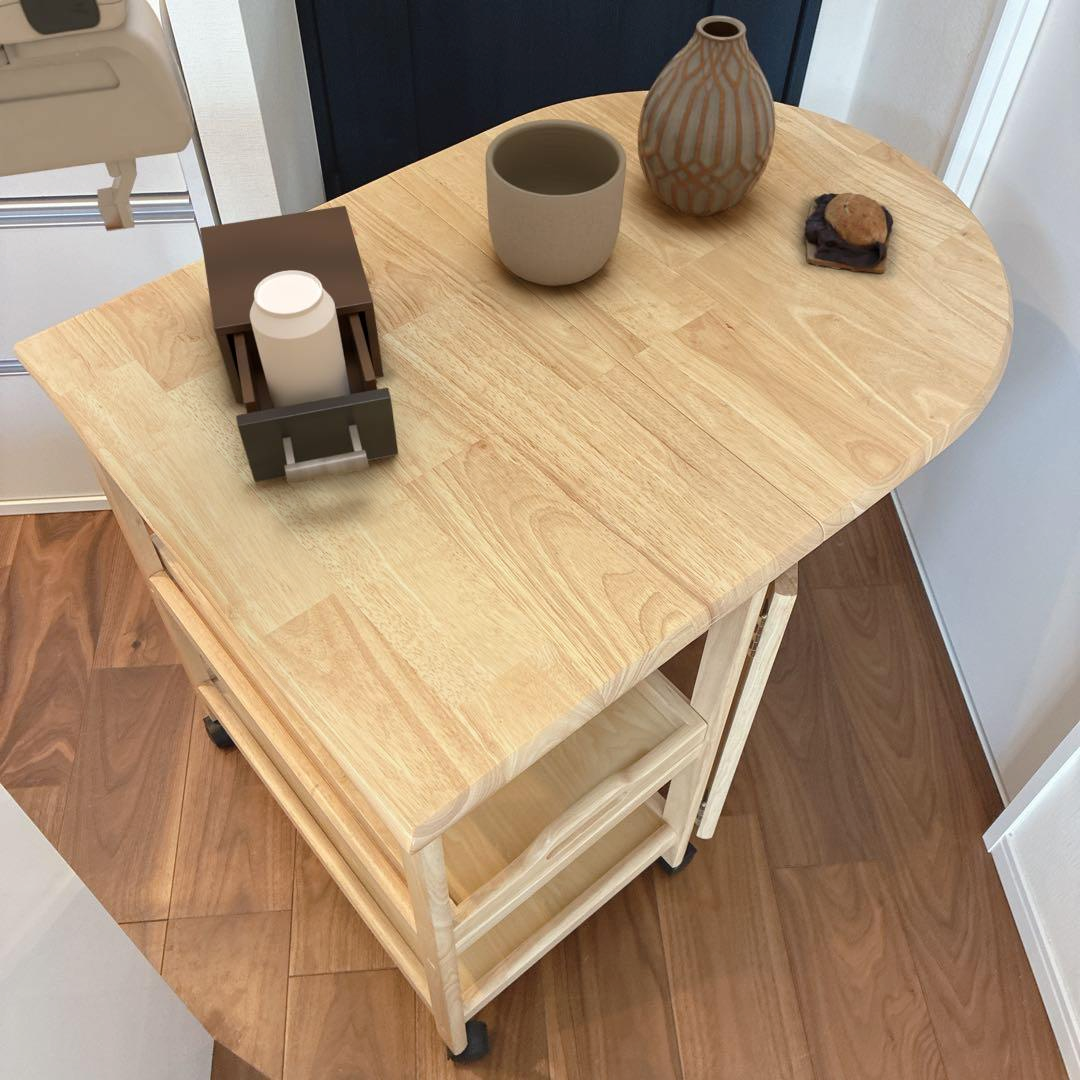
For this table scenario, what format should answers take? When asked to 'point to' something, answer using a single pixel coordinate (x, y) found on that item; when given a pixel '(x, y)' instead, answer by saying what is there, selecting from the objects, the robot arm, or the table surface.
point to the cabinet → (277, 246)
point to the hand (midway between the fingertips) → (33, 237)
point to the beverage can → (298, 339)
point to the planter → (554, 199)
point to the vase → (707, 122)
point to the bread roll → (848, 232)
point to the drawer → (315, 417)
